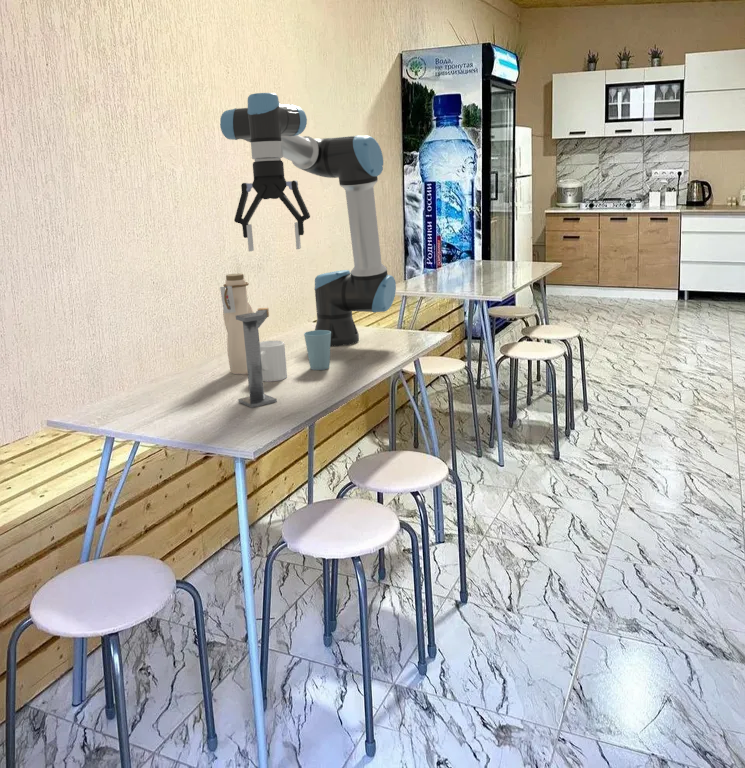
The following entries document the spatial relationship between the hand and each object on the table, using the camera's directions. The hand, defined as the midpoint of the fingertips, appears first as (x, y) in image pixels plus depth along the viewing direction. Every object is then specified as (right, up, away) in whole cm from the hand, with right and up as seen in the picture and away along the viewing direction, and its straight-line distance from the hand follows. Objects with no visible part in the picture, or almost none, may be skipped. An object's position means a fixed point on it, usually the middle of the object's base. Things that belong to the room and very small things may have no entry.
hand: (274, 249), depth 199 cm
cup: (+9, -29, +29) cm, 42 cm away
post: (-4, -38, -2) cm, 39 cm away
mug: (-4, -33, +19) cm, 38 cm away
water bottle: (-13, -30, +29) cm, 44 cm away
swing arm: (-5, -18, +4) cm, 19 cm away
